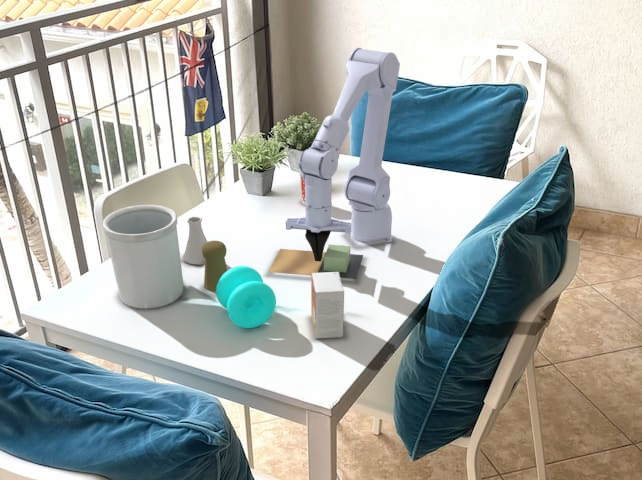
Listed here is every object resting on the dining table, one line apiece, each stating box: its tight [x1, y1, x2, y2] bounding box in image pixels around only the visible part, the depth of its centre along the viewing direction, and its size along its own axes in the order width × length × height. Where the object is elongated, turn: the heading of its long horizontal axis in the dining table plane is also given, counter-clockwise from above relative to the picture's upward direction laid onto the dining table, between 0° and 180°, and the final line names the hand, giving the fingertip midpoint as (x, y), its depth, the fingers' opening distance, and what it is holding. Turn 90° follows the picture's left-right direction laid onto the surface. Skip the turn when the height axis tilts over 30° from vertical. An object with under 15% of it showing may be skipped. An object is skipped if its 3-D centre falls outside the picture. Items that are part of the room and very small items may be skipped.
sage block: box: [323, 244, 352, 272], centre depth 158 cm, size 5×6×4 cm
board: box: [268, 248, 364, 280], centre depth 160 cm, size 20×12×1 cm, turn 79°
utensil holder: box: [102, 204, 185, 310], centre depth 147 cm, size 15×15×18 cm
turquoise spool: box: [215, 265, 277, 329], centre depth 140 cm, size 10×10×10 cm
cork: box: [202, 240, 229, 293], centre depth 150 cm, size 6×6×11 cm
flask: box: [182, 216, 208, 265], centre depth 162 cm, size 7×7×10 cm
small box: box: [310, 272, 345, 340], centre depth 136 cm, size 8×6×10 cm
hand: (318, 259), depth 160 cm, fingers closed
